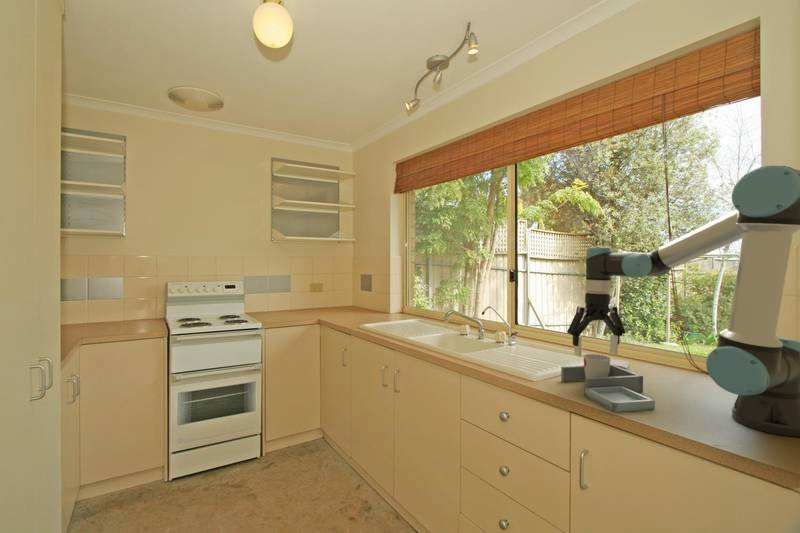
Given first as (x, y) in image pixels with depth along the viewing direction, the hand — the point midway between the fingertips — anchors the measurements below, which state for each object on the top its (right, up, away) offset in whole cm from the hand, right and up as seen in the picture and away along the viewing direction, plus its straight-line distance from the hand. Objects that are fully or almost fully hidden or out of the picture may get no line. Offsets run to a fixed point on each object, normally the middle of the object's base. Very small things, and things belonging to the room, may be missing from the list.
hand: (595, 354), depth 132 cm
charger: (+16, -11, +16) cm, 25 cm away
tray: (-1, -11, -15) cm, 19 cm away
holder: (+2, -11, 0) cm, 11 cm away
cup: (0, -11, 0) cm, 11 cm away
